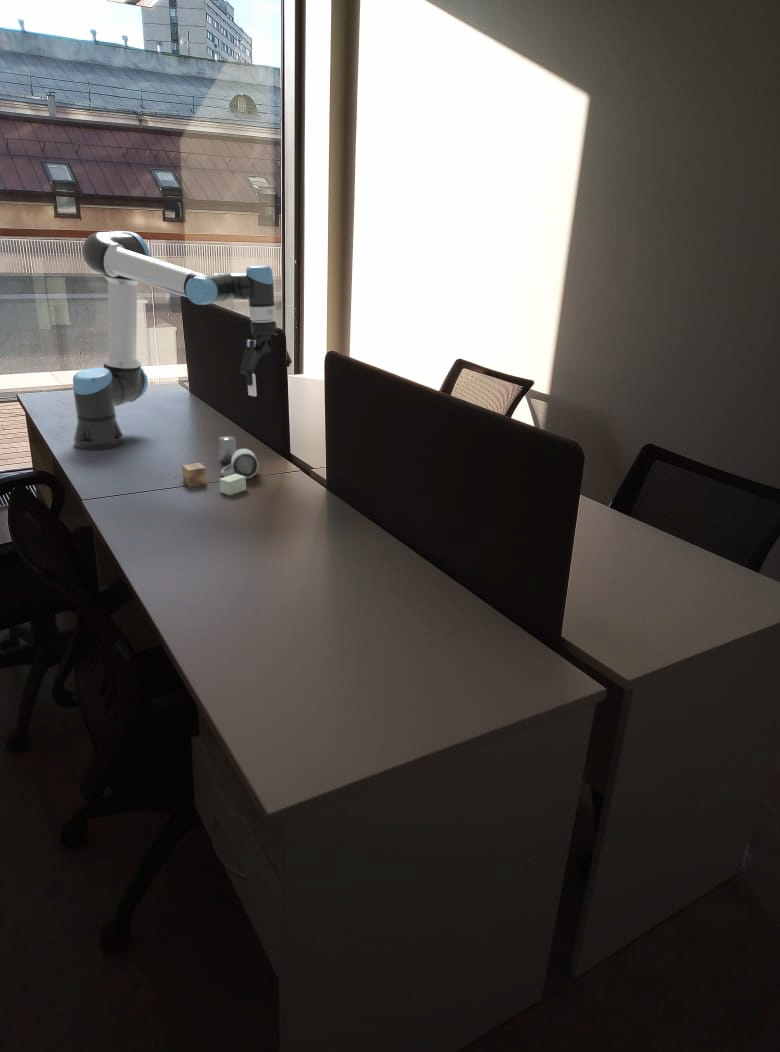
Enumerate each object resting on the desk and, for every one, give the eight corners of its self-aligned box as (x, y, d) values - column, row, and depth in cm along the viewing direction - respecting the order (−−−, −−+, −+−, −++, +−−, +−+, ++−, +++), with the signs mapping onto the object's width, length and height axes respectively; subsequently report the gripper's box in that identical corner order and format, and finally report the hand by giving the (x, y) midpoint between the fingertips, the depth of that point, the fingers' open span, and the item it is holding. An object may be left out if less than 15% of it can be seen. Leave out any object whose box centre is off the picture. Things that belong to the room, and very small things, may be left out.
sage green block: (229, 495, 210) (229, 482, 208) (220, 492, 212) (219, 478, 211) (246, 490, 214) (245, 476, 213) (236, 486, 217) (235, 473, 215)
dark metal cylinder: (223, 463, 234) (222, 441, 232) (217, 459, 238) (216, 437, 236) (238, 461, 237) (237, 439, 234) (232, 457, 241) (231, 435, 238)
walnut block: (189, 487, 215) (188, 470, 213) (183, 481, 219) (182, 465, 217) (206, 484, 217) (205, 467, 215) (200, 479, 221) (199, 462, 219)
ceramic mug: (256, 469, 231) (254, 444, 228) (259, 478, 224) (257, 453, 221) (220, 471, 228) (218, 447, 225) (222, 480, 221) (220, 455, 218)
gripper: (242, 326, 216) (248, 400, 224) (300, 317, 235) (304, 386, 243) (223, 324, 220) (230, 397, 228) (282, 315, 239) (286, 383, 247)
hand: (268, 391), depth 235 cm, fingers open, 13 cm apart
